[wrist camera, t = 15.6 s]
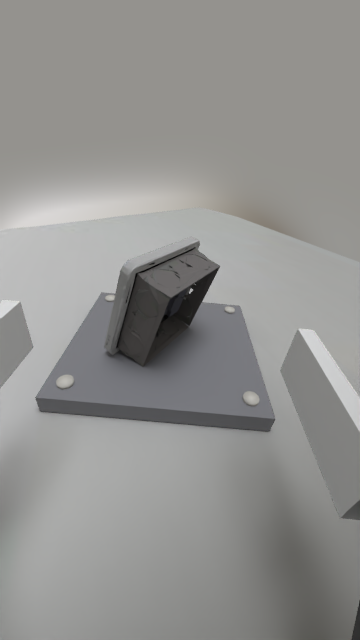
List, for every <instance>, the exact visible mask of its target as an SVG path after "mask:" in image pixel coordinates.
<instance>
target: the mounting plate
mask: <svg viewBox="0 0 360 640" xmlns="http://www.w3.org/2000/svg"><path fill="white" fill-rule="evenodd" d="M114 298H115V294H112V293H101V294H100V296H99V298H98V299H97V301H96V302H95V304H94V305H93V307H92V309H91V310H90V312H89V313H88V315H87V317H86V318H85V320H84V321H83V323H82V325H81V326H80V328H79V329H78V331H77V332H76V334H75V336H74V337H73V339H72V340H71V342H70V344H69V345H68V347H67V348H66V350H65V351H64V353H63V355H62V356H61V358H60V359H59V361H58V363H57V364H56V366H55V367H54V369H53V371H52V372H51V374H50V375H49V377H48V378H47V380H46V382H45V383H44V385H43V386H42V388H41V390H40V391H39V393H38V394H37V396H36V397H35V398H36V401H37V404H38V407H39V410H40V411H44V412H55V413H67V414H78V415H89V416H101V417H112V418H123V419H135V420H146V421H157V422H169V423H180V424H191V425H203V426H214V427H225V428H237V429H248V430H259V431H270V429H271V427H272V425H273V423H274V421H275V416H274V413H273V410H272V407H271V404H270V400H269V397H268V394H267V391H266V388H265V384H264V381H263V378H262V375H261V372H260V368H259V365H258V362H257V359H256V356H255V353H254V349H253V346H252V343H251V340H250V337H249V333H248V330H247V327H246V324H245V321H244V317H243V314H242V311H241V308H240V306H235V305H225V304H215V303H204V302H202V303H201V305H200V307H199V308H198V310H197V312H196V314H195V316H194V318H193V320H192V322H191V324H190V326H188V325H187V324H186V325H187V326H188V328H187V329H186V330H185V331H184V332H182V333H181V334H180V335H179V336H178V337H177V338H176V339H174V340H173V341H172V342H171V343H170V344H169V345H168V346H166V347H165V348H164V349H163V350H162V351H161V352H159V353H158V354H157V355H156V356H155V357H154V358H153V359H151V360H150V361H149V362H148V363H147V364H146V365H145V366H141V365H140V364H139V363H138V362H136V361H135V360H134V359H133V358H131V357H129V356H127V355H126V354H125V353H123V352H122V351H121V350H119V351H118V352H116V353H115V354H114V355H112V354H110V353H109V352H108V351H107V350H106V349H105V348H104V345H105V340H106V335H107V331H108V326H109V321H110V317H111V312H112V308H113V303H114ZM174 323H175V322H174ZM183 323H184V322H183ZM175 324H176V323H175ZM164 333H165V332H164ZM166 334H167V333H166ZM170 335H172V334H170ZM155 336H156V337H159V334H158V333H156V335H155ZM153 342H154V341H153ZM154 351H155V350H154Z"/></svg>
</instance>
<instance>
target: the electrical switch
mask: <svg viewBox="0 0 360 640" xmlns="http://www.w3.org/2000/svg"><path fill="white" fill-rule="evenodd" d="M199 245H200V243H199V240H197V239H195V238H193V237H189V238H186V239H183V240H181V241H178V242H175V243H173V244H170V245H167V246H164V247H162V248H159V249H156V250H154V251H151V252H148V253H146V254H143V255H140V256H138V257H135V258H132V259H130V260H128V261H127V262H126V263H125V264H124V265H123V267H122V269H121V271H120V275H119V280H118V285H117V289H116V294H115V298H114V303H113V308H112V312H111V317H110V321H109V326H108V331H107V335H106V340H105V345H104V348H105V349H106V350H107V351H108V352H109V353H110V354H112V355H114V354H115V353H116V352H118V351H119V350H121V351H122V352H123V353H125V354H126V355H127V356H129V357H131V358H133V359H134V360H135V361H136V362H138V363H139V364H140V365H141V366H145V365H146V364H147V363H148V362H149V361H150V360H151V359H153V358H154V357H155V356H156V355H157V354H158V353H159V352H161V351H162V350H163V349H164V348H165V347H166V346H168V345H169V344H170V343H171V342H172V341H173V340H174V339H176V338H177V337H178V336H179V335H180V334H181V333H182V332H184V331H185V330H186V329H187V328H188V326H190V324H191V322H192V320H193V318H194V316H195V314H196V312H197V310H198V308H199V307H200V305H201V303H202V301H203V299H204V297H205V295H206V293H207V291H208V289H209V287H210V285H211V283H212V281H213V279H214V277H215V275H216V273H217V271H218V269H219V267H220V266H219V265H218V264H216V263H214V262H212V261H211V260H209V259H208V258H207V257H206V256H205V255H204V254H202V253H200V252H199V251H198V250H197V249H198V247H199ZM194 283H195V284H196V285H195V284H194ZM191 288H192V289H193V291H192V292H191V294H189V291H190V289H191ZM174 322H175V323H176V324H175V323H174ZM183 322H184V323H183ZM186 324H187V325H188V326H187V325H186ZM164 332H165V333H164ZM156 333H158V334H159V337H156V336H155V335H156ZM166 333H167V334H166ZM170 334H172V335H170ZM153 341H154V342H153ZM154 350H155V351H154Z"/></svg>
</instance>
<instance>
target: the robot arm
mask: <svg viewBox="0 0 360 640" xmlns="http://www.w3.org/2000/svg"><path fill="white" fill-rule="evenodd" d="M32 348H33V344H32V341H31V337H30V334H29V330H28V327H27V323H26V320H25V316H24V313H23V309H22V306H21V302H20V301H9V300H3V301H2V302H1V303H0V388H1V387H2V386H3V384H4V383H5V382H6V381H7V379H8V378H9V377H10V376H11V374H12V373H13V372H14V371H15V369H16V368H17V367H18V366H19V364H20V363H21V362H22V361H23V360H24V358H25V357H26V356H27V355H28V353H29V352H30V351H31V350H32ZM280 371H281V373H282V376H283V378H284V381H285V383H286V386H287V388H288V391H289V393H290V396H291V398H292V401H293V403H294V406H295V408H296V411H297V413H298V416H299V418H300V421H301V423H302V426H303V428H304V430H305V433H306V435H307V438H308V440H309V443H310V445H311V448H312V450H313V453H314V455H315V458H316V460H317V463H318V465H319V468H320V470H321V473H322V475H323V478H324V480H325V483H326V485H327V488H328V490H329V492H330V495H331V497H332V500H333V502H334V505H335V507H336V510H337V512H338V515H339V517H340V518H344V519H356V520H360V397H359V396H358V394H357V393H356V391H355V390H354V388H353V387H352V385H351V384H350V383H349V381H348V380H347V378H346V377H345V375H344V374H343V372H342V371H341V369H340V368H339V366H338V365H337V363H336V362H335V360H334V359H333V358H332V356H331V355H330V353H329V352H328V350H327V349H326V347H325V346H324V344H323V343H322V341H321V340H320V338H319V337H318V335H317V334H316V333H315V331H314V330H308V329H297V332H296V334H295V337H294V339H293V341H292V344H291V346H290V348H289V351H288V353H287V356H286V358H285V360H284V363H283V365H282V367H281V370H280ZM352 640H360V602H359V606H358V611H357V616H356V621H355V626H354V631H353V635H352Z"/></svg>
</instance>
